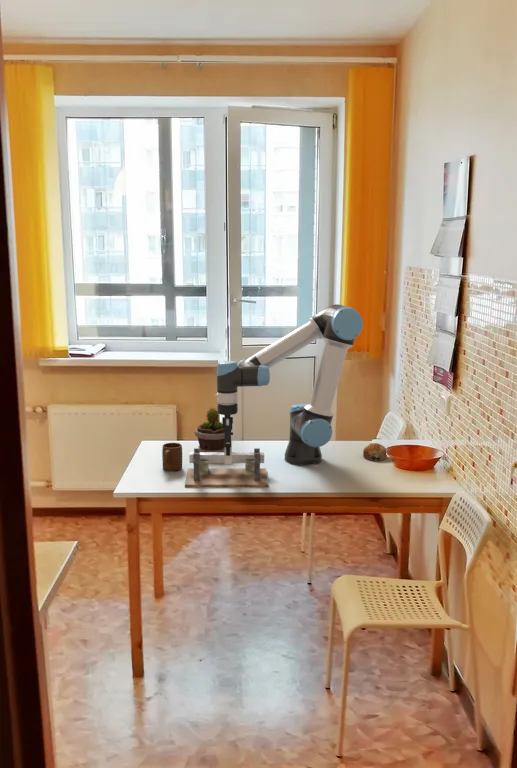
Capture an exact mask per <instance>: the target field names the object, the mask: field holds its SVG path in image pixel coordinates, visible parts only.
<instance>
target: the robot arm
mask: <svg viewBox="0 0 517 768" xmlns="http://www.w3.org/2000/svg"><path fill="white" fill-rule="evenodd" d="M363 327H364V323H363V319H362V316H361V314H360V313H359V311H357V310H356V309H355V308H353V307H350V306H345V305H343V304H338V303H337V304H331V305H329V306H327V307H325V308H324V309H322V310H321V311H319V312H317V313H316V314H314V315H313V316H311V317H310V318H309V319H308V321H307V322H306V323H305V324H302V325H301V326H300V327H298V328H296V329H295V330H293V331H291V332H290V333H288V334H286V335H285V336H283V337H282V338H280V339H278V340H277V341H275V342H273V343H272V344H270V345H269V346H267V347H265V348H263V349H262V350H260V351H258V352H257V353H255V354H254V355H252V356H250V357H249V358H243V359H241V360H240V361H239V362H238V363H237V361H234V360H221V361H218V363H217V365H216V391H217V393H216V394H215V397H217V405H216V407H217V408H216V411H217V413H218V415H220V416H222V418H221V419H222V421H221V422H222V424H223V430H224V438H225V444H224V445H223V447H224V463H223V464H226V465H229V464H230V465H231V464H233V463H232V452H233V451H232V449H233V448H232V446H233V445H232V441H233V440H232V437H233V435H234V432H233V431H232V430H233V424H234V417H233V415H236V414H238V411H239V410H238V409H239V407H238V401H239V398H238V397H239V395H238V394H239V393H238V388H244V387H263V386H268V385H269V384H270V382H271V381H270V378H271V373H270V368H272V367H274V366H275V365H277V364H279V363H280V362H282V361H284V360H285V359H287V358H288V357H290V356H292V355H294V354H295V353H298V351H300V350H302V349H304V348H305V347H308V345H310V344H312V343H313V342H316V340H318V339H319V340H323V341H324V343H325V345H324V348H323V350H322V351H323V352H322V355H321V359H320V363H319V366H318V370H317V374H316V378H315V380H314V385H313V388H312V391H311V395H310V398H309V399H310V400H309V403H297V404H292V405H291V406H290V409H289V440H288V444H287V447H286V449H285V451H284V460H285V462H287V463H289V464H292V465H298V466H311V465H317V464H320V463H321V462H322V461H323V455H322V451H321V448H320V447H323V446H325V445H327V443H329V442H330V440H331V438H332V436H333V428H332V425H331V424H332V421H333V419H334V418H333V417H334V413H333V411H332V407H333V404H334V400H335V396H336V392H337V390H338V389H337V388H338V385H339V382H340V379H341V375H342V372H343V371H342V370H343V367H344V364H345V360H346V357H347V352H348V350H349V349H350V348H352V347H353V346H354V343H355V340H356V338H358V336H359V335H360V334H361V332H362V330H363Z"/></svg>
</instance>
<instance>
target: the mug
mask: <svg viewBox="0 0 517 768" xmlns="http://www.w3.org/2000/svg"><path fill="white" fill-rule="evenodd" d="M161 448H162V452H161V453H162V454H161V455H162V469H163V470H164V471H166V472H177V471H180V470H181V469H183V445H182V444H181V443H179V442H167V443H164V444H162V447H161Z"/></svg>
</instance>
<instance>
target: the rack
mask: <svg viewBox="0 0 517 768" xmlns="http://www.w3.org/2000/svg"><path fill="white" fill-rule="evenodd" d="M193 452H194V453H193V463H192V464H193V467H191V468H187V471H186V476H185V481H184V488H269V486H270V485H269V479H268V473H267V468H265V467H264V468H261V463H260V455H261V454H260V452H261V450H260V448H259V447H258V448H257V447H256V448H254V449H253V452H254V461H246V463H244V468H240V467H239V468H236V467H235V468H234V467H233V468H229V467H228V468H225V467H224V468H223V467H222V468H220V467H219V468H218V467H217V468H215V467H214V468H211V467H210V463H208V461H200V448H198V447H197V448H196V447H194V449H193ZM209 467H210V468H209Z"/></svg>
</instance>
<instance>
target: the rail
mask: <svg viewBox="0 0 517 768" xmlns="http://www.w3.org/2000/svg"><path fill="white" fill-rule="evenodd" d="M193 453H194V451H192V452H191V451H190V452H189V464H193ZM260 454H261V455H260V464H264V463H265V452H261V451H260ZM200 461H208V463H209V464H224V452H200ZM246 461H254V451H253V452H252V451H251V452H250V451H249V452H248V451H247V452H246V451H245V452H243V451H242V452H241V451H239V452H237V451H236V452H234V451H232V464H245V463H246Z"/></svg>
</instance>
